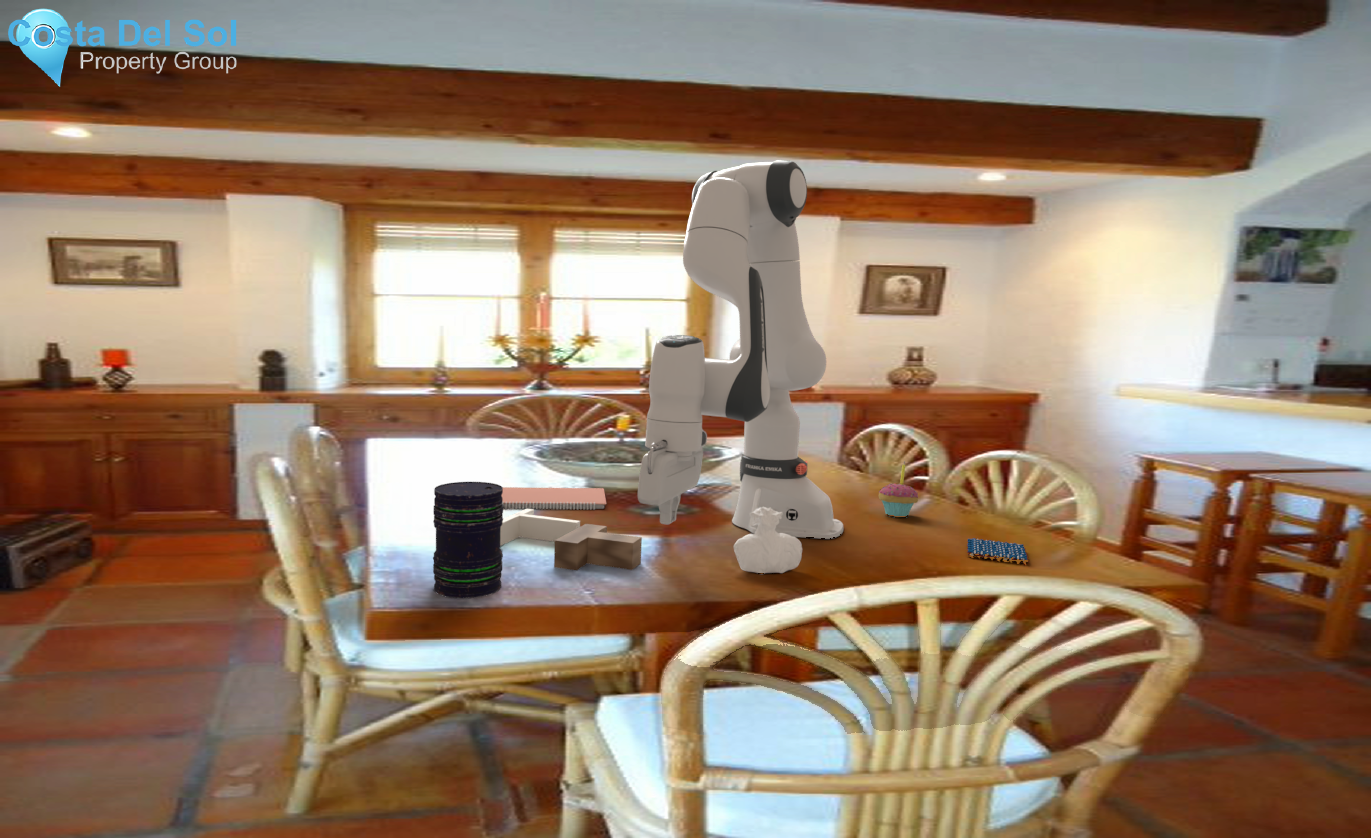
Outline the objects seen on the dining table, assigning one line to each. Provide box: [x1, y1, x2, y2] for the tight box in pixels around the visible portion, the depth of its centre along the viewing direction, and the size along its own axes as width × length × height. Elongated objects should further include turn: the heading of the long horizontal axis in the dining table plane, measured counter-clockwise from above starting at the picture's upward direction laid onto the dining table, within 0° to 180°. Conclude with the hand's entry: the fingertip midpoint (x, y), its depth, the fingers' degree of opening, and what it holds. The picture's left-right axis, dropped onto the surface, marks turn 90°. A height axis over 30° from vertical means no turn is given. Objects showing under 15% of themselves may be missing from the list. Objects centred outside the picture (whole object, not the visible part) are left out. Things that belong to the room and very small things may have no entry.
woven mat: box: [966, 538, 1030, 563], centre depth 146 cm, size 10×11×2 cm
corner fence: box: [500, 508, 581, 547], centre depth 136 cm, size 13×26×4 cm, turn 162°
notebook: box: [502, 486, 607, 511], centre depth 175 cm, size 27×17×2 cm, turn 98°
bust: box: [733, 507, 803, 574], centre depth 132 cm, size 12×8×11 cm
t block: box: [553, 523, 643, 572], centre depth 132 cm, size 12×12×4 cm
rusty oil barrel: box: [432, 481, 504, 599], centre depth 116 cm, size 10×10×15 cm
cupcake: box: [878, 460, 919, 516], centre depth 174 cm, size 9×8×12 cm
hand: (667, 522), depth 127 cm, fingers closed
